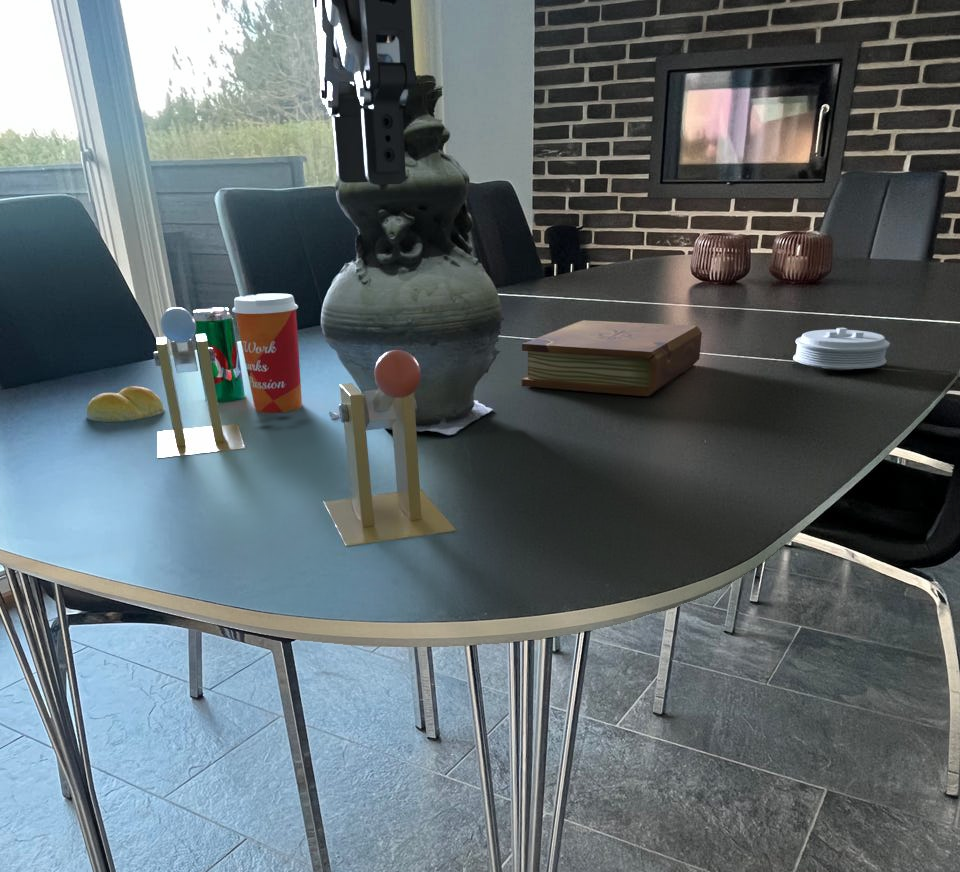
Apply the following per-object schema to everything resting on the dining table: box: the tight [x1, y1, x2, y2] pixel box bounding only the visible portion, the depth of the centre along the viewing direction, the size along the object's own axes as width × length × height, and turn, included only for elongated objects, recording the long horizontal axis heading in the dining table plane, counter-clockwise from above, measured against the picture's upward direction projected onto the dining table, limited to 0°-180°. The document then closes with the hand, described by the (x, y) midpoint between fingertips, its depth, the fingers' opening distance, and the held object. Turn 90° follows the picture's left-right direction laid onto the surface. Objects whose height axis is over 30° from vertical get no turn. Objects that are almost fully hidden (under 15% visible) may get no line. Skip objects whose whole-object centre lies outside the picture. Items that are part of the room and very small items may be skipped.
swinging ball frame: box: [323, 382, 457, 548], centre depth 70 cm, size 11×9×12 cm
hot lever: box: [363, 350, 421, 431], centre depth 64 cm, size 12×3×3 cm, turn 18°
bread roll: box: [86, 386, 166, 423], centre depth 106 cm, size 8×9×4 cm
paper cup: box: [231, 292, 303, 414], centre depth 105 cm, size 8×8×14 cm
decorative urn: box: [320, 74, 505, 436], centre depth 98 cm, size 21×21×35 cm
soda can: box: [192, 306, 246, 404], centre depth 110 cm, size 5×5×12 cm
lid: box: [792, 327, 891, 371], centre depth 125 cm, size 13×13×5 cm
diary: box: [521, 319, 703, 397], centre depth 123 cm, size 23×19×6 cm
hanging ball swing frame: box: [153, 334, 246, 459], centre depth 93 cm, size 11×9×12 cm
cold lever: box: [160, 306, 199, 374], centre depth 86 cm, size 12×3×3 cm, turn 18°
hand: (369, 183), depth 53 cm, fingers open, 8 cm apart
